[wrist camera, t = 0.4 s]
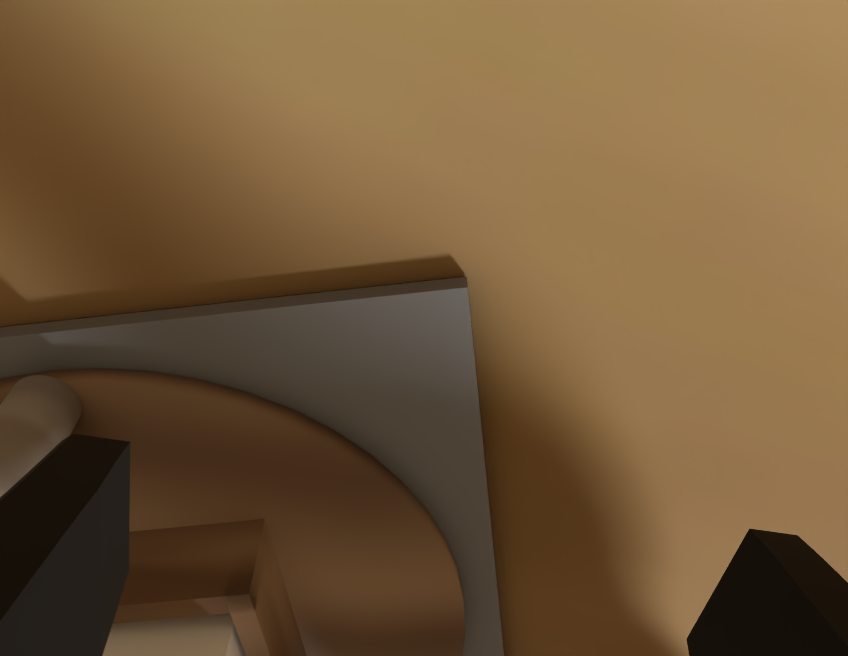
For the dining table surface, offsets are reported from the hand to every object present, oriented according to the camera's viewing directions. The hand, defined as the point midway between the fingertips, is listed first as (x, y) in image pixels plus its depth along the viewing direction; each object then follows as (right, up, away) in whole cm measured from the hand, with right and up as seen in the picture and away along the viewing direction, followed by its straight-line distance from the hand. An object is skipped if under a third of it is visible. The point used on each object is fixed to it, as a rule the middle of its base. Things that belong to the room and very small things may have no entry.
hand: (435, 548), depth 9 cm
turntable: (-8, -6, +15) cm, 18 cm away
